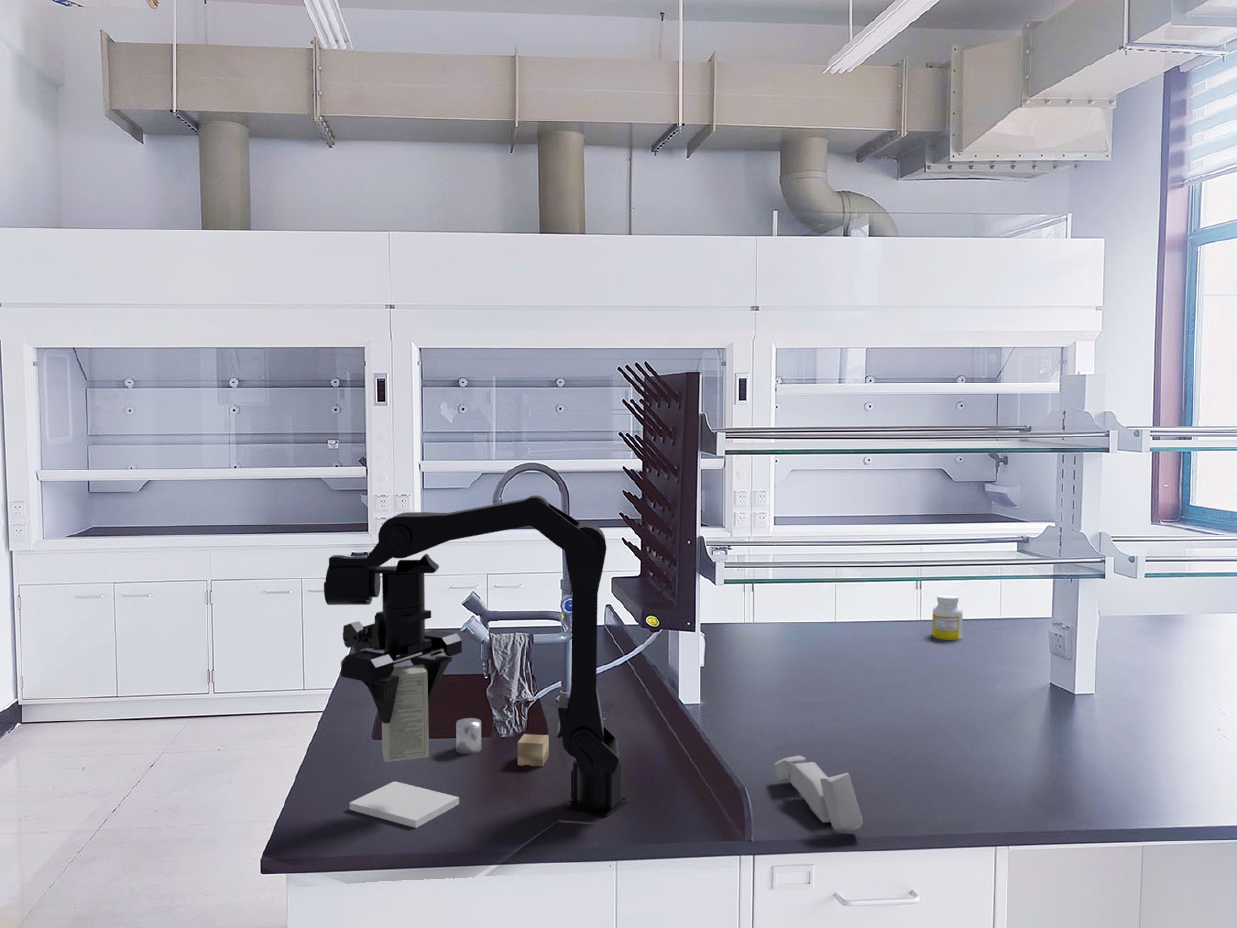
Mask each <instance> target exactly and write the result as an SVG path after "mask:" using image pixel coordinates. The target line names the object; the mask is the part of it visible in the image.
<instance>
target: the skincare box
mask: <svg viewBox="0 0 1237 928" xmlns="http://www.w3.org/2000/svg"><path fill="white" fill-rule="evenodd" d="M392 675H394V676H399V682H398V687H397V692H396V697H395V703H394V708H393V713H392V717H391V720H390V723H388V724H386V723H383V722H382V721H381V743H382V744H381V745H382V748H381V749H382V756H383V761H384V762H385V763H388V762H396V761H397V762H399V761H405V760H416V759H422V758H429V757H430V748H429V747H430V742H429V740H430V739H429V736H430V735H429V704H428V682H427V670H426V668H425V666H424V665H423V664H422V665H413V664H412V665H404V666H396V667H395V666H394V670H393V672H392Z"/></svg>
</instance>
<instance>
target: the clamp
mask: <svg viewBox="0 0 1237 928" xmlns="http://www.w3.org/2000/svg"><path fill="white" fill-rule="evenodd" d="M774 771H775V776H776V779H777V780H778V781H779V782H786V781H790V783H791V786H793V787H794V788H795V789H796V790H797V791H798V792H799V794H800V795H801V797H802V798H803V799H804V800H805V802H806V804H807V805H808V806H809V810H810V811H811V812H812V813H813V814H814V815H815V816H816V817H817V818H818V819H819V821H820V822H821V823H823V824H826V823H827V824H828V823H831V827H832V828H833V830H834V831H837V832H838V831H839V832H840V831H853V830H855V831H856V830H858V829H860V828H862V827H863V823H864V821H863V820H864V819H863V817H862V813H861V811H860V807H859V804H858V800H857V798H856V797H857V796H856V794H855V791H854V786H853V784H852V781H851V776H850V773H849V772H845V773H840V774H837V775H834V776H829V777H828V775H826V773H825V772H824V771H823V770H822V769H821V768H820V767H819V766H818V764H817V763H816V762H813V761H810V762H807V758H806V757H804V756H802V755H794V756H790V757H789V756H788V757H785V758H783V759H780V760H778V761H777V762H775V763H774Z"/></svg>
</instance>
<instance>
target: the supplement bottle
mask: <svg viewBox="0 0 1237 928" xmlns="http://www.w3.org/2000/svg"><path fill="white" fill-rule="evenodd" d="M936 601H937V605H936V606H935V607H933V608H932V629H931V630H932V636H933V637H934V638H936V639H939V640H946V641H947V640H948V641H954V640H955V641H957V640H961V639H963V617H964V616H963V610H962V608H961V607H959V606H958V604H959V603H958V602H959V596H957V595H953V594H951V595H950V594H937V596H936Z"/></svg>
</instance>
